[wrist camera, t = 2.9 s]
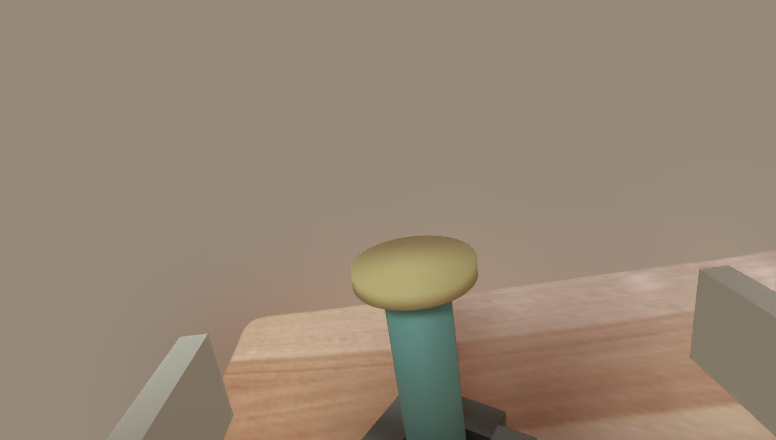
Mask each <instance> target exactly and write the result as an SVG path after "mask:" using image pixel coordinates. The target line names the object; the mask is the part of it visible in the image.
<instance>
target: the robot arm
mask: <svg viewBox="0 0 776 440" xmlns="http://www.w3.org/2000/svg"><path fill="white" fill-rule="evenodd" d="M690 358H691V359H693V360H694V361H695V362H696V363H697V364H698V365H699V366H700V367H701V368H702V369H703V370H704V371H706V372H707V373H708V374H709V375H710V376H711V377H712V378H713V379H714V380H715V381H716V382H717V383H719V384H720V385H721V386H722V387H723V388H724V389H725V390H726V391H727V392H728V393H729V394H730V395H731V396H733V397H734V398H735V399H736V400H737V401H738V402H739V403H740V404H741V405H742V406H743V407H744V408H746V409H747V410H748V411H749V412H750V413H751V414H752V415H753V416H754V417H755V418H756V419H757V420H759V421H760V422H761V423H762V424H763V425H764V426H765V427H766V428H767V429H768V430H769V431H770V432H772V433H773V434H774V435H775V436H776V292H775V291H773V290H771V289H769V288H767V287H766V286H764V285H762V284H760V283H759V282H757V281H755V280H753V279H751V278H750V277H748V276H746V275H744V274H743V273H741V272H739V271H737V270H736V269H734V268H732V267H730V266H722V267H714V268H706V269H699V277H698V286H697V295H696V305H695V314H694V323H693V332H692V341H691V350H690ZM232 417H233V412H232V409H231V406H230V402H229V399H228V396H227V393H226V390H225V386H224V383H223V380H222V377H221V373H220V370H219V367H218V364H217V361H216V358H215V354H214V351H213V348H212V344H211V341H210V338H209V335H208V333H207V334H201V335H192V336H184V337H180V338H179V339H178V341H177V342H176V343H175V345H174V346H173V348H172V349H171V351H170V352H169V353H168V355H167V356H166V357H165V359H164V360H163V361H162V363H161V364H160V366H159V367H158V368H157V370H156V371H155V373H154V374H153V375H152V377H151V378H150V380H149V381H148V382H147V384H146V385H145V387H144V388H143V389H142V391H141V392H140V394H139V395H138V396H137V398H136V399H135V400H134V402H133V403H132V404H131V406H130V407H129V409H128V410H127V411H126V413H125V414H124V416H123V417H122V418H121V420H120V421H119V423H118V424H117V425H116V427H115V428H114V430H113V431H112V432H111V434H110V435H109V436H108V438H107V439H106V440H223V439H224V437H225V434H226V432H227V429H228V427H229V424H230V422H231V419H232Z"/></svg>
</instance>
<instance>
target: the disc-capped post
mask: <svg viewBox="0 0 776 440" xmlns="http://www.w3.org/2000/svg"><path fill="white" fill-rule="evenodd" d="M350 275H351V280H352V286H353V291H354V293H355V295H356V296H357V297H358V298H359V299H360V300H361V301H363V302H364V303H366V304H368V305H371V306H373V307H377V308H381V309H385V312H386V318H387V324H388V331H389V337H390V343H391V349H392V355H393V362H394V368H395V374H396V380H397V386H398V393H399V399H400V405H401V411H402V417H403V424H404V430H405V436H406V440H466V434H465V425H464V415H463V405H462V396H461V386H460V376H459V367H458V357H457V347H456V338H455V328H454V318H453V309H452V301H453V300H455V299H457V298H459V297H461V296H462V295H464V294H465V293H467V292H468V291H469V290H470V289H471V288H472V287H473V286H474V284H475V283H476V281H477V277H478V271H477V258H476V253H475V251H474V249H473V248H472V247H471V246H470V245H468V244H466V243H465V242H462V241H460V240H457V239H453V238H449V237H442V236H413V237H406V238H399V239H395V240H391V241H387V242H384V243H381V244H379V245H376V246H374V247H372V248H370V249H368V250H366V251H364V252H363V253H361V254H360V255H359V256H358V257H357V258H356V259H355V260H354V261H353V263H352V264H351V266H350Z"/></svg>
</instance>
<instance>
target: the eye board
mask: <svg viewBox="0 0 776 440" xmlns="http://www.w3.org/2000/svg"><path fill="white" fill-rule="evenodd" d="M462 405H463V415H464V425H465V434H466V440H537V438H534V437H531V436H528V435H526V434H523V433H520V432H517V431H515V430H512V429H509V428H506V414H505V412H504V411H501V410H498V409H495V408H493V407H490V406H487V405H484V404H481V403H478V402H475V401H472V400H469V399H466V398H463V397H462ZM362 440H406V436H405V430H404V424H403V417H402V411H401V405H400V399H399V396H398V397H397V398H396V399H395V401H394V402H393V403H392V404H391V405H390V407H389V408H388V409H387V410H386V411H385V412H384V414H383V415H382V416H381V417H380V418H379V420H378V421H377V422H376V423H375V424H374V425H373V427H372V428H371V429H370V430H369V431H368V433H367V434H366V435H365V436H364V437H363V439H362Z"/></svg>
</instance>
